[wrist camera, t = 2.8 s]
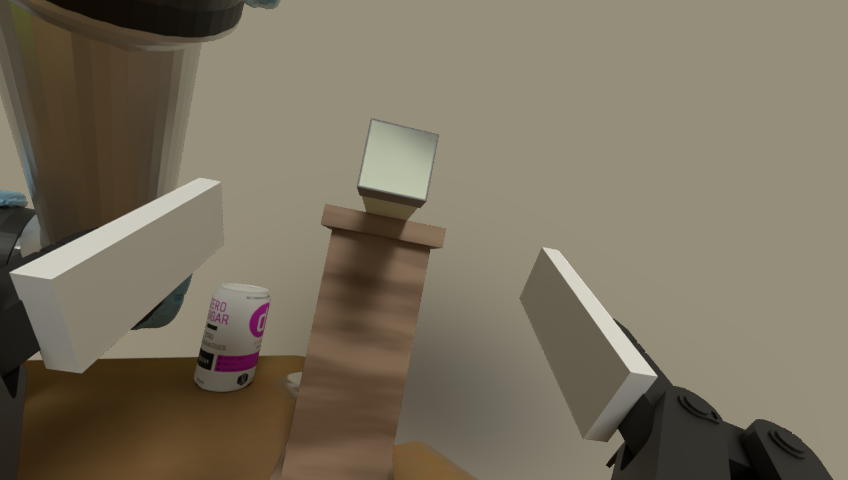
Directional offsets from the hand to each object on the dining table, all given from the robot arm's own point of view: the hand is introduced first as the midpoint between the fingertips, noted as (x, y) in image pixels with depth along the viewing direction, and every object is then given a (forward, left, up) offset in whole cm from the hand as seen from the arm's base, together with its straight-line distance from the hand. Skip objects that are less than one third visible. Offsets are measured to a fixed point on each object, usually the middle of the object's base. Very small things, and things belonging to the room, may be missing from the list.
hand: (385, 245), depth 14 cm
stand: (-20, +20, -25) cm, 38 cm away
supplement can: (-44, +16, -25) cm, 54 cm away
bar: (-15, +15, +3) cm, 21 cm away
